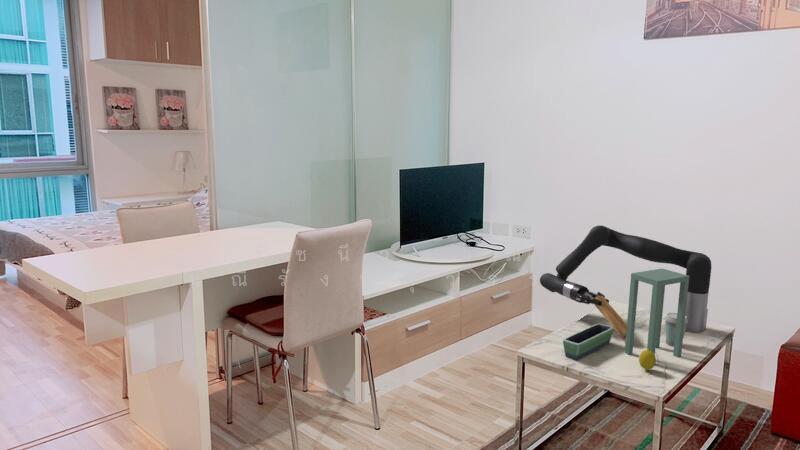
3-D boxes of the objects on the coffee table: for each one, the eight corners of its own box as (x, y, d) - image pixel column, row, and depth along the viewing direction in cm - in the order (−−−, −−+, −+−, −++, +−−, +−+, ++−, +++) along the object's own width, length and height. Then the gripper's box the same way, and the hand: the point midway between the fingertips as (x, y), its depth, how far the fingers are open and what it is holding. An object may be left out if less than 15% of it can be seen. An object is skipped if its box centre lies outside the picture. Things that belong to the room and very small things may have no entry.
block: (598, 301, 251) (602, 295, 249) (628, 337, 238) (632, 331, 236) (592, 302, 250) (596, 296, 248) (622, 338, 236) (626, 332, 234)
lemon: (635, 367, 214) (637, 346, 213) (649, 366, 215) (651, 346, 213) (642, 373, 209) (644, 352, 207) (657, 373, 209) (659, 352, 208)
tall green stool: (655, 345, 235) (662, 268, 229) (681, 356, 224) (689, 275, 219) (624, 352, 227) (631, 273, 222) (650, 364, 217) (657, 281, 211)
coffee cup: (665, 347, 233) (668, 318, 231) (659, 339, 242) (662, 311, 240) (688, 348, 232) (691, 319, 230) (681, 340, 240) (684, 312, 238)
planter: (577, 362, 218) (579, 344, 217) (560, 357, 223) (561, 339, 222) (613, 344, 237) (614, 327, 235) (597, 339, 242) (598, 322, 241)
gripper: (563, 285, 257) (592, 296, 242) (587, 282, 263) (617, 292, 248) (562, 302, 259) (591, 314, 243) (586, 298, 265) (616, 309, 250)
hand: (604, 303), depth 246 cm, fingers closed on block, 3 cm apart
